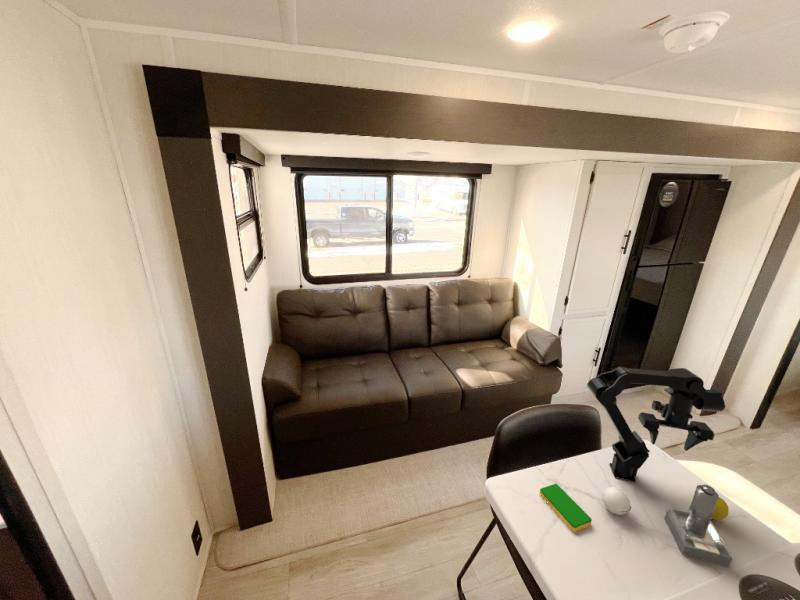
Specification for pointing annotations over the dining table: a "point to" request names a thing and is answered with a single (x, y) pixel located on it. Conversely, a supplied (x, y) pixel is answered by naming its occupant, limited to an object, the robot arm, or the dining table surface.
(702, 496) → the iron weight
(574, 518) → the dish sponge
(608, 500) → the white egg
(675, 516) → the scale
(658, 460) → the dining table surface
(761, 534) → the dining table surface
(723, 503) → the lemon
